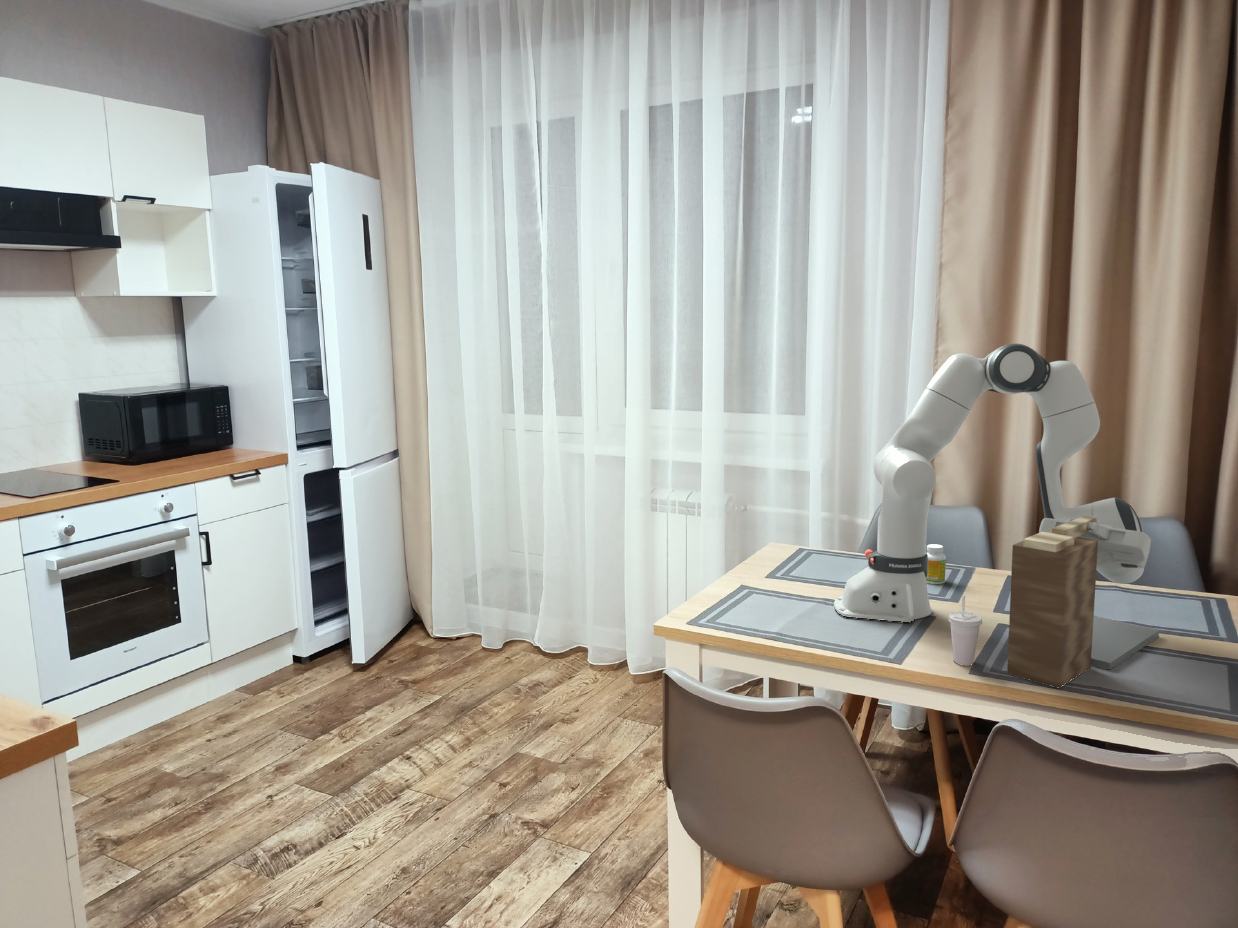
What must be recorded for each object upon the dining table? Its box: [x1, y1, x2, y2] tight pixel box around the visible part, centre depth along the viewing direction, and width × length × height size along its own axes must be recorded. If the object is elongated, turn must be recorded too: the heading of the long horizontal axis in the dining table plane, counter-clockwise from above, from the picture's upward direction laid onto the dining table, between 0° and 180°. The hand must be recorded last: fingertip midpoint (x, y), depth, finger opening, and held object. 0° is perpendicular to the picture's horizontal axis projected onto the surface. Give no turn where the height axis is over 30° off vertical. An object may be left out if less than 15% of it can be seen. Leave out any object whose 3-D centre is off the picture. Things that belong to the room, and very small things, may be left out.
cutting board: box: [1091, 615, 1160, 671], centre depth 189 cm, size 26×16×2 cm, turn 131°
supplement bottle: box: [926, 543, 947, 585], centre depth 234 cm, size 5×5×10 cm
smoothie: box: [948, 595, 983, 666], centre depth 180 cm, size 6×6×14 cm
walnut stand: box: [1006, 537, 1098, 689], centre depth 173 cm, size 14×10×26 cm
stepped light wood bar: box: [1022, 516, 1097, 552], centre depth 174 cm, size 23×6×2 cm, turn 131°
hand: (1080, 524), depth 178 cm, fingers closed on stepped light wood bar, 2 cm apart
